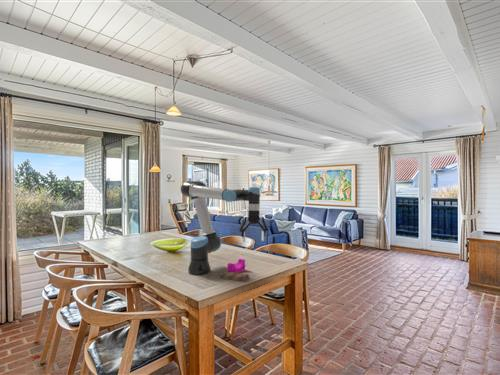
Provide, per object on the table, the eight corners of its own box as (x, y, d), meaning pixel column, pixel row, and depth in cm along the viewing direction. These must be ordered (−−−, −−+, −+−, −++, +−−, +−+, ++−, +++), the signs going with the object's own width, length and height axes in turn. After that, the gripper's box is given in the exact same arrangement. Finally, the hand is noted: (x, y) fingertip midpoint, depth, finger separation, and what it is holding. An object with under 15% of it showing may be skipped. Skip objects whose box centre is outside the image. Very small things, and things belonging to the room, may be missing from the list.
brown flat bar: (220, 277, 176) (220, 274, 176) (225, 274, 183) (225, 270, 183) (244, 281, 169) (244, 277, 169) (248, 278, 176) (248, 274, 176)
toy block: (237, 268, 197) (237, 258, 197) (245, 270, 194) (244, 259, 194) (224, 274, 184) (224, 263, 184) (232, 275, 181) (232, 264, 181)
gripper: (237, 210, 178) (237, 243, 178) (273, 210, 186) (272, 241, 186) (234, 209, 185) (234, 241, 185) (268, 209, 193) (268, 239, 193)
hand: (253, 241), depth 186 cm, fingers open, 13 cm apart
